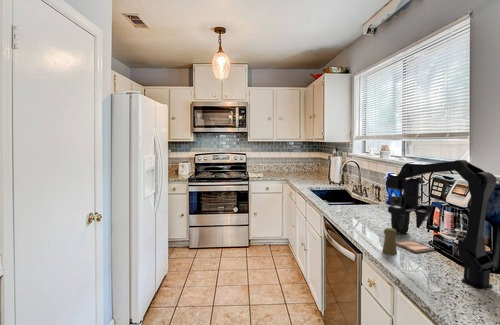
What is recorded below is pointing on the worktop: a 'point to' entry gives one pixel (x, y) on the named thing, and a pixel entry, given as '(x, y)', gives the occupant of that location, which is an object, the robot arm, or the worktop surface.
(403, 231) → the portable speaker
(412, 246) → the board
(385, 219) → the worktop surface
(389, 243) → the cork
